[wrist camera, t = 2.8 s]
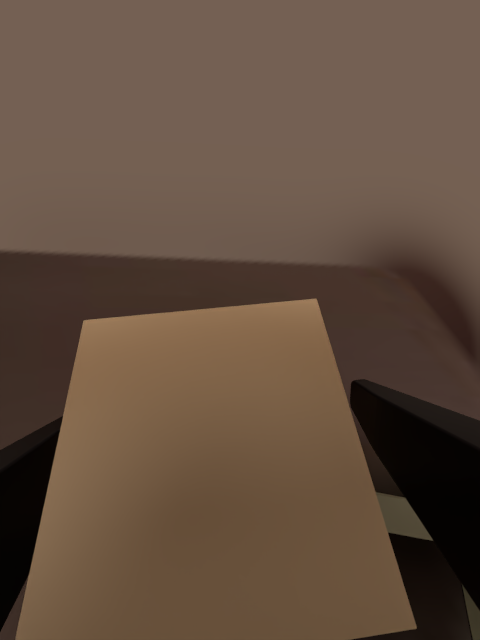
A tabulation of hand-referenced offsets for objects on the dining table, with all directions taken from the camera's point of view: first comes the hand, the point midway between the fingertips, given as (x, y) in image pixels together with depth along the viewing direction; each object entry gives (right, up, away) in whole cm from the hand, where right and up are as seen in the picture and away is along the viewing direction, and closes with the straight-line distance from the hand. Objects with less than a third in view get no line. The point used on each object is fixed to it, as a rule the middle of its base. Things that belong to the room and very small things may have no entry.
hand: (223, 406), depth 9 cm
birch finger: (0, -4, +5) cm, 7 cm away
